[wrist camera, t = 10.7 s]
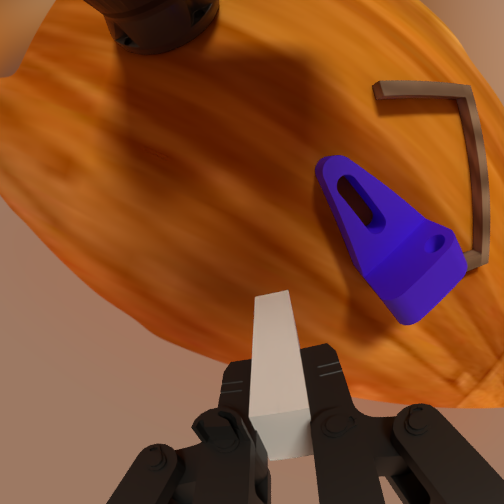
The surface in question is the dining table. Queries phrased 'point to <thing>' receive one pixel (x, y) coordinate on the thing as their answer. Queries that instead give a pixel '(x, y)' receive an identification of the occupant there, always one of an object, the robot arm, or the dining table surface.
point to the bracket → (393, 243)
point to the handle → (474, 150)
